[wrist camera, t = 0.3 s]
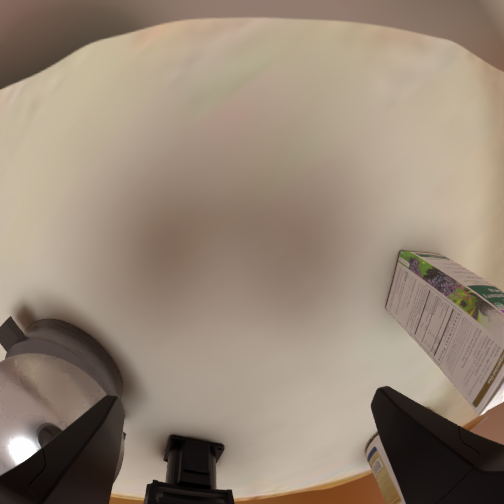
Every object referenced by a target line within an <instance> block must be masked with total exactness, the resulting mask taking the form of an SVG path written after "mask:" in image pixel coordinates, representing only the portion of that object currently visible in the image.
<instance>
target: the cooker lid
mask: <svg viewBox="0 0 504 504" xmlns="http://www.w3.org/2000/svg"><path fill="white" fill-rule="evenodd" d="M106 395H107V394H106V393H105V391H104V390H103V389H102V388H101V387H100V385H99V384H98V383H97V382H96V381H95V380H94V379H93V378H92V377H90V376H89V375H88V374H87V373H86V372H84V371H83V370H81V369H80V368H79V367H77V366H75V365H73V364H72V363H70V362H67V361H65V360H63V359H60V358H57V357H54V356H50V355H44V354H31V353H27V354H19V355H15V356H12V357H9V358H7V359H4V360H2V361H1V362H0V475H2V474H3V473H5V472H7V471H9V470H10V469H12V468H14V467H15V466H17V465H18V464H20V463H22V462H23V461H25V460H26V459H28V458H29V457H30V456H32V455H33V454H34V453H36V452H37V451H38V450H39V449H41V448H43V446H44V445H46V444H47V443H48V442H49V441H51V440H52V439H53V438H54V437H56V436H57V435H58V434H59V433H60V432H62V431H63V430H64V429H65V428H67V427H68V426H69V425H70V424H72V423H73V422H74V421H75V420H76V419H78V418H79V417H80V416H81V415H83V414H84V413H85V412H86V411H87V410H89V409H90V408H91V407H92V406H93V405H95V404H96V403H97V402H98V401H99V400H101V399H102V398H103V397H104V396H106ZM123 456H124V436H123V432H122V440H121V449H120V455H119V460H118V464H117V468H116V472H115V477H114V481H113V483H114V482H115V480H116V478H117V476H118V474H119V472H120V469H121V466H122V462H123Z"/></svg>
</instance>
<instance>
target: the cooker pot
mask: <svg viewBox="0 0 504 504" xmlns="http://www.w3.org/2000/svg"><path fill="white" fill-rule="evenodd" d="M0 344H1V345H2V346H3V348H4V349H5V350H6V351H7V354H6V357H5V359H7V358H9V357H12V356H15V355H19V354H27V353H31V354H44V355H50V356H54V357H57V358H60V359H63V360H65V361H67V362H70V363H72V364H73V365H75V366H77V367H79V368H80V369H81V370H83V371H84V372H86V373H87V374H88V375H89V376H90V377H92V378H93V379H94V380H95V381H96V382H97V383H98V384H99V385H100V387H101V388H102V389H103V390H104V391H105V393H106V394H107V395H108V394H109V395H116V396H118V397H119V398H121V395H122V392H123V381H122V377H121V374H120V371H119V369H118V367H117V365H116V364H115V362H114V360H113V359H112V357H111V356H110V355H109V353H108V352H107V351H106V350H105V349H104V348H103V347H102V346H101V345H100V344H99V343H98V342H97V341H96V340H95V339H93V338H92V337H91V336H90V335H88V334H87V333H85V332H84V331H82V330H81V329H79V328H77V327H76V326H73V325H71V324H69V323H66V322H64V321H60V320H56V319H42V320H39V321H37V322H35V323H33V324H32V325H31V326H30V327H29V328H28V329H27V330H26V331H25V332H24V333H23V332H22V331H21V330H20V328H19V327H18V326H17V324H16V323H15V322H14V320H13V319H12V317H11V316H10V317H9V318H8V319H7V320H6V321H5V322H4V323H3V324H2V326H1V327H0ZM123 436H124V440H125V436H126V434H125V433H124V432H123Z"/></svg>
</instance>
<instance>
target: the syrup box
mask: <svg viewBox="0 0 504 504" xmlns="http://www.w3.org/2000/svg"><path fill="white" fill-rule="evenodd" d="M386 310H387V311H388V312H389V313H390V314H391V315H392V316H393V317H394V318H395V319H396V320H397V321H398V323H399V324H400V325H401V326H402V327H403V328H404V329H405V330H406V331H407V332H408V334H409V335H410V336H411V337H412V338H413V339H414V340H415V341H416V342H417V343H418V344H419V346H420V347H421V348H422V349H423V350H424V351H425V352H426V353H427V354H428V355H429V357H430V358H431V359H432V360H433V361H434V362H435V363H436V365H437V366H438V367H439V368H440V369H441V370H442V371H443V373H444V374H445V375H446V376H447V377H448V379H449V380H450V381H451V382H452V383H453V384H454V386H455V387H456V388H457V389H458V390H459V391H460V393H461V394H462V395H463V396H464V398H465V399H466V400H467V401H468V402H469V404H470V405H471V406H472V407H473V409H474V410H475V411H476V412H477V414H479V415H480V416H481V415H482V414H484V413H485V412H486V411H487V410H489V409H491V408H493V407H494V406H496V405H498V404H500V403H502V402H504V292H503V291H501V290H500V289H498V288H497V287H495V286H494V285H492V284H490V283H489V282H487V281H486V280H484V279H483V278H481V277H479V276H478V275H476V274H474V273H473V272H471V271H470V270H468V269H466V268H464V267H463V266H461V265H459V264H458V263H456V262H454V261H452V260H450V259H448V258H446V257H445V256H443V255H438V254H431V253H422V252H410V251H401V252H400V254H399V258H398V262H397V267H396V271H395V275H394V279H393V283H392V286H391V291H390V295H389V298H388V302H387V305H386Z"/></svg>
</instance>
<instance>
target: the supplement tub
mask: <svg viewBox="0 0 504 504" xmlns="http://www.w3.org/2000/svg"><path fill="white" fill-rule="evenodd" d="M366 456H367V461H368V462H369V465H370V467H371V469H372V471H373V474H374V476H375V478H376V480H377V483H378V485H379V487H380V489H381V491H382V494H383V496H384V498H385V501H386V503H387V504H406V503H405V501H404V498H403V495H402V493H401V490H400V488H399V485H398V482H397V480H396V477H395V475H394V472H393V470H392V467H391V465H390V462H389V460H388V458H387V455H386V453H385V450H384V448H383V445H382V443H381V440H380V437H379V434H378V435H377V436H376V437H375V438H374V439H373V441H372V442H371V443H370V445H369V447H368V449H367V454H366Z"/></svg>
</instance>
